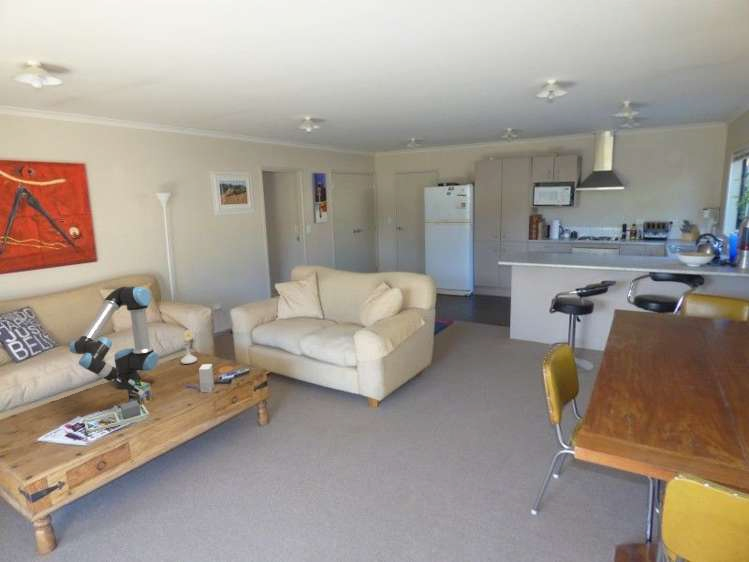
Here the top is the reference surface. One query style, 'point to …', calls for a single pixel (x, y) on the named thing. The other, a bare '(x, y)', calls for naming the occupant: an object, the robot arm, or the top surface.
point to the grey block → (130, 410)
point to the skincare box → (206, 378)
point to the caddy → (143, 416)
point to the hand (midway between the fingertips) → (140, 389)
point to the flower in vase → (188, 357)
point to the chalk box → (146, 395)
